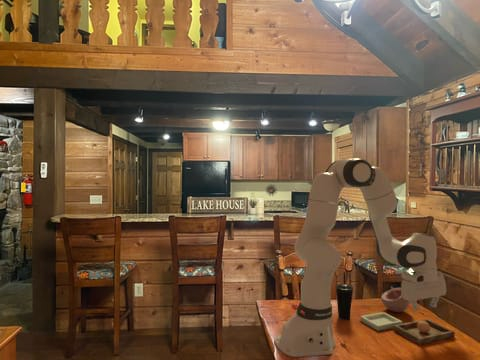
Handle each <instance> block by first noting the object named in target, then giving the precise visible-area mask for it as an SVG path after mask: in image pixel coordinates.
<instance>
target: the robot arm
mask: <svg viewBox="0 0 480 360" xmlns="http://www.w3.org/2000/svg"><path fill="white" fill-rule="evenodd" d="M343 188H346V189H347V188H349V189H350V188H358V189H359V190H360V192H361V193H362V196H363V199H364V201H365V204H366V207H367V210H368V212H367V213H368V216H369V221H370V224H371V228H372V230H373V233H374V238H375V241H376V253H377V255H378V257H379V258H380V259H381V260H382V261H383V262H387V263H390V264H393V265H396V266H399V267H402V268H405V269H407V270H405V271H403V272H402V273H401V278H402V281H401V285H400V288H401V294H402V297H403V299H405V300H408V301H410V305H412V306H411V307H412V308H411V309H412V310H413V311H414V312H418V311H420V306H419V305H417V303H418V301H420V300H425V299H429V298H432V299H431V301H430V302H429V304H430V305H429V307H431V308H437V305H438V301H439V299H440V297H443V296H445V295H446V293H447V284H446V279H445V275H444V273H443V272H442V271H438V266H437V262H436V261H437V258H438V251H437V250H438V248H437V242H436V239H435V237H434V236H433V235H431V234H428V233H423V232H413V233H412V235H411V236H409V237H408V238H406V239H404V240H399V239H396V238H395V237H394V236H393V235H392V233H391V229H390V226H389V223H388V220H387V217H388V216H389V215H390V214H392V213H393V212H394V211H395V210H396V208H397V206H398V198H397V195H396V193H395V191H394V189H393V185H392V183H391V182H390V180H389V178H388V176H387V175H386V173H385V172H384V170H383V169H382V168H380V167H379V166H372V165H371V163H370V162H368V161H367V160H365V159H363V158H359V157H358V158H357V157H356V158H343V159H339V160H334V161H333V162H332V163H331V164H330V165H329V166H328V167H327V169H326V170H325V171H324V172H320V173H317V174H316V175H315V176H314V178H313V180H312V183H311V187H310V191H309V195H308V201H307V207H306V208H307V209H306V215H305V220H304V223H303V226H302V228H301V232H299V236H298V238H296V240H295V242H294V247H293V248H294V252H295V254H296V256H297V257H298V259H300V261H302V262H304V263H305V272H304V275H303V278H302V279H301V282H300V301H299V304H298V305H297V304H296V303H292V304H291V305H290V306H291V309H293V310H294V311H296V313H294V314H293V315H292V316H291V317H290V318H289V319H287V320H286V321H285V322H283V324H282V326H281V330H280V334H279V335H275V337H274V344H275V345H276V347H277V348H278V349H279V350H280V351H281V352H282V353H283V354H285V355H287V356H288V357H291V358H299V357H312V356H313V357H314V356H323V355H332V354H333V349H334V348H335V346H336V341H335V336H334V333H333V325H332V324H333V323H332V317H333V305H332V282H333V278H334V274H335V271H336V270H338V269H339V267H340V265H341V263H342V255H341V253H340V251H339V250H338V248H337V247H336V246H334V244H333V243H331V242H329V241H327V240H328V236H329V234H330V233H331V231H332V229H333V228H334V227H335V225H336V222H337V215H338V209H339V200H340V196H341V195H340V194H341V192H342V191H343Z"/></svg>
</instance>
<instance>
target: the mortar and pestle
mask: <svg viewBox="0 0 480 360" xmlns="http://www.w3.org/2000/svg"><path fill="white" fill-rule="evenodd" d="M380 299H381V302H382V304H383V306H384V307H385V308H386V309H387V310H389V311H391V312H393V313H402V312H404V311H406V310H407V309H408V307H409V306H410V304H411V302H410V301H408V300H405V299H403V297H402V294H401V287H393V286H390V289H389V290H386V291H385V292H384V293H382V294H381V297H380Z"/></svg>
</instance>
